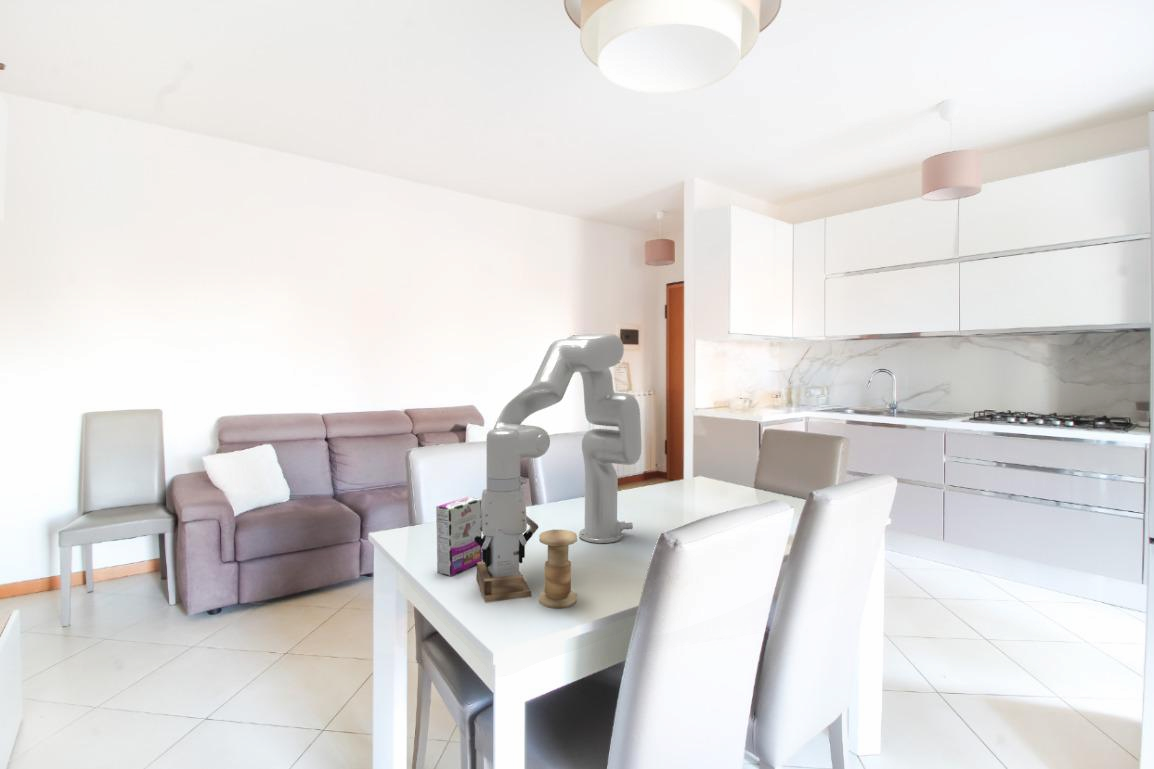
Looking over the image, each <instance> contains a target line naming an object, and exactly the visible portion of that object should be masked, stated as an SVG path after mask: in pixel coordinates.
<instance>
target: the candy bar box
mask: <svg viewBox="0 0 1154 769" xmlns="http://www.w3.org/2000/svg"><path fill="white" fill-rule="evenodd" d="M435 508H436V510H435V512H436V514H435V515H436V557H437V558H436V565H437V574H440V575H444V576H447V577H448V576H449V577H453V576H455V575H457V574H461V573H463V572H465V571H466V570H468V569H471V568H472V567H473V568H474V567H475V566H477V562H482V547H481V546H480V545H479V544H478V543H476V542H475V540H474V539H473V538H472V537H471V536H470V535H469V534H468V532H467V531H468V530H469V529H470V528H471V527H472V526H473V525H474V524H475V523H476V522H477V521H478V520H479V519H480V508H481V498H476V497H471V496H467V497H464V498H461V499H460V498H459V499H457V500H453V501H450V502H446V503H444V504H443V503H442V504H440V505H437V506H435ZM476 534H477V535H479V536H480V537H481V538H483V536H482V535H483V533H482V531H481V530H480V528H479V529H478V530H477V531H476Z"/></svg>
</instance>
